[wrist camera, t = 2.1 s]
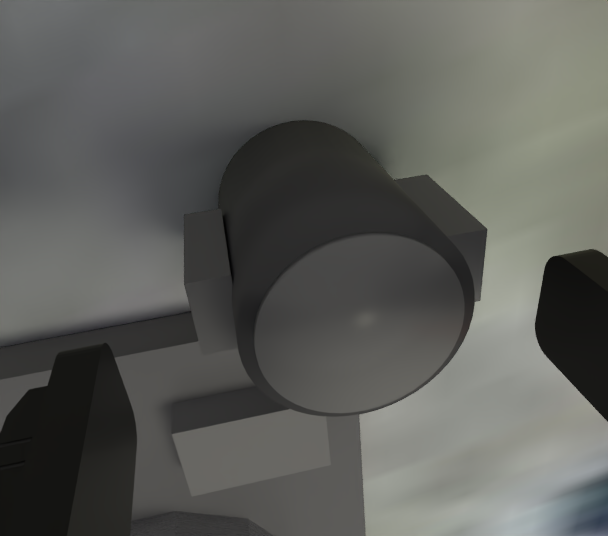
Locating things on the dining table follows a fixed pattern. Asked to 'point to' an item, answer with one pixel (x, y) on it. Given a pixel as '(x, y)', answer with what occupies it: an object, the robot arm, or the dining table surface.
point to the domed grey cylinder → (331, 272)
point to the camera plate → (213, 432)
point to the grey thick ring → (195, 525)
